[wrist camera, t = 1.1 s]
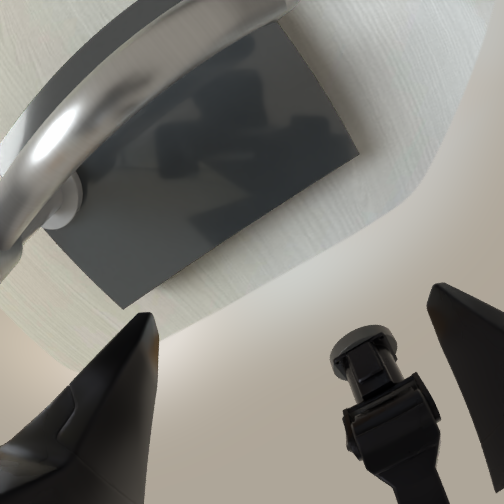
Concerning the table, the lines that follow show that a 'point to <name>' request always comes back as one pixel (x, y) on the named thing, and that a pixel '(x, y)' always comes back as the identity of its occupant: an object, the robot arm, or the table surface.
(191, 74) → the tap deck
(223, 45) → the spout
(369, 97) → the table surface
